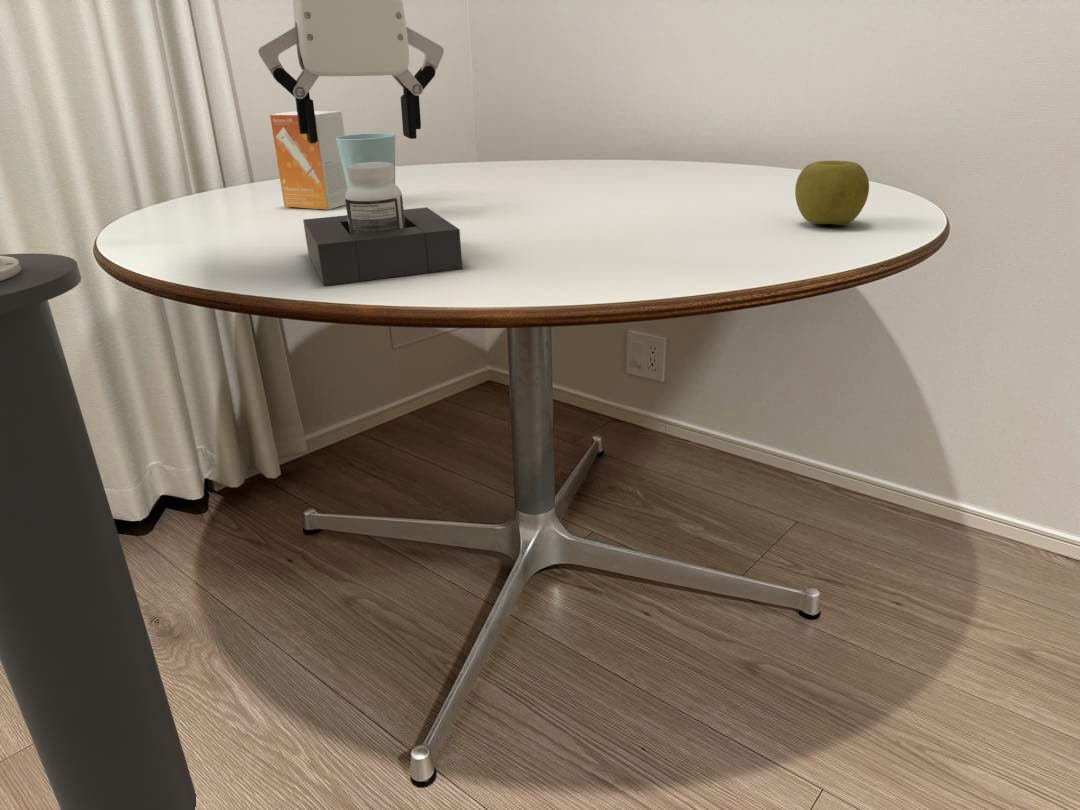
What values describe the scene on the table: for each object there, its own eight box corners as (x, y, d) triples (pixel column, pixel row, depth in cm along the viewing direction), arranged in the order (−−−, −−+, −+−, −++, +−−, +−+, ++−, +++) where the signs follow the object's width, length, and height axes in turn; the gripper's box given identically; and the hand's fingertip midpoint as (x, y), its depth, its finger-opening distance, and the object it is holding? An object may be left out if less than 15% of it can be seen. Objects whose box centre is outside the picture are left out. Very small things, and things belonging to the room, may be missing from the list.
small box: (283, 208, 116) (267, 114, 111) (310, 200, 121) (297, 110, 116) (328, 210, 113) (314, 113, 108) (354, 202, 118) (342, 110, 113)
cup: (335, 220, 106) (324, 138, 101) (363, 210, 112) (354, 132, 108) (385, 222, 103) (377, 138, 99) (412, 211, 110) (404, 133, 106)
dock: (323, 286, 75) (317, 244, 74) (308, 255, 87) (302, 219, 86) (462, 268, 80) (459, 228, 78) (430, 242, 92) (427, 207, 90)
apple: (791, 218, 97) (797, 157, 94) (861, 219, 95) (869, 157, 92) (792, 231, 90) (798, 166, 87) (866, 232, 88) (875, 166, 85)
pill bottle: (365, 255, 87) (353, 161, 82) (415, 255, 86) (406, 160, 82) (345, 268, 81) (331, 169, 77) (398, 269, 80) (387, 168, 76)
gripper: (427, -51, 77) (437, 133, 84) (241, -57, 72) (269, 140, 79) (446, -61, 71) (456, 139, 78) (243, -68, 65) (274, 147, 72)
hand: (362, 139), depth 78 cm, fingers open, 9 cm apart
